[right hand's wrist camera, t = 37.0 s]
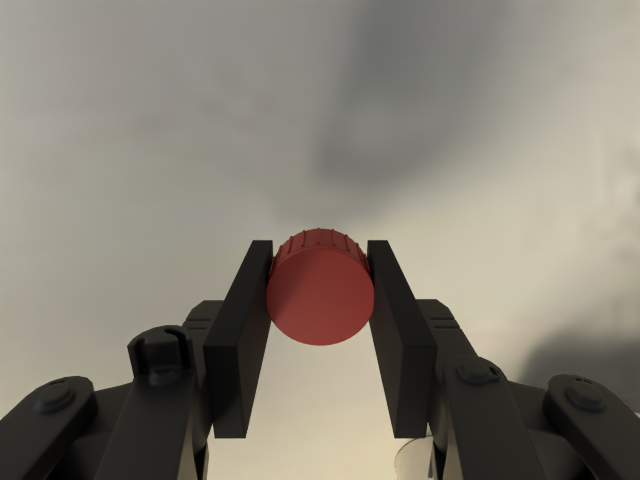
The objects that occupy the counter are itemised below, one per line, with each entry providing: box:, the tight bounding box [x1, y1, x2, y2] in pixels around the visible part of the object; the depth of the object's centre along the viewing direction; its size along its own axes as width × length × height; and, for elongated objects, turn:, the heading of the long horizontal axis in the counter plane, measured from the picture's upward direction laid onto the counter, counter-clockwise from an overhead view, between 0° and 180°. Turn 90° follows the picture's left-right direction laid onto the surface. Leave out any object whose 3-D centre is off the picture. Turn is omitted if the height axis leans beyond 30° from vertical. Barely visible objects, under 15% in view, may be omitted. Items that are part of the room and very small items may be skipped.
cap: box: [266, 228, 374, 345], centre depth 13 cm, size 4×4×2 cm
